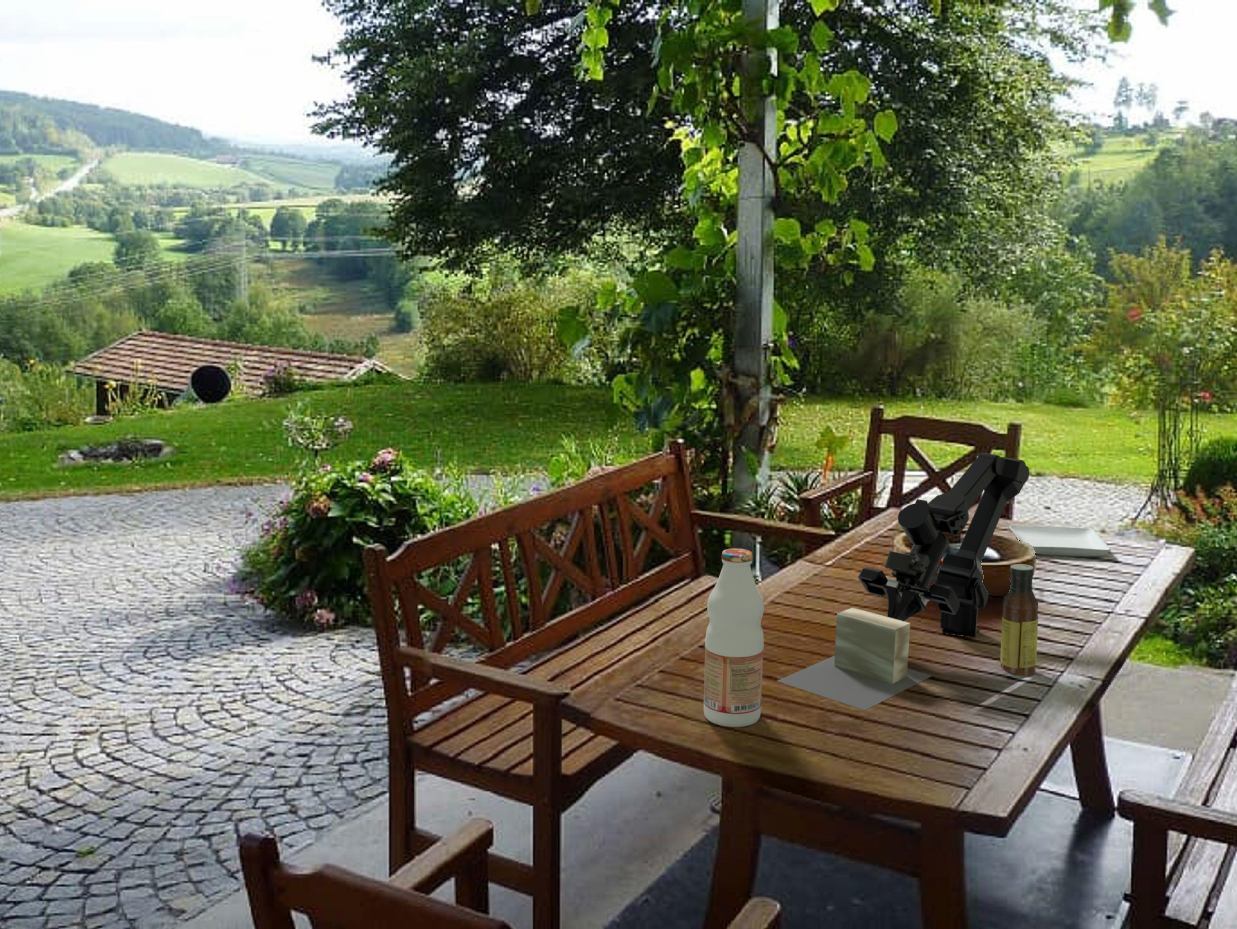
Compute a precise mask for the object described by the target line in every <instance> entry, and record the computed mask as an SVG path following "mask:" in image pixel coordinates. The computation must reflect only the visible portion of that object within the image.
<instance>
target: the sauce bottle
mask: <svg viewBox="0 0 1237 929" xmlns="http://www.w3.org/2000/svg"><path fill="white" fill-rule="evenodd" d="M1009 574H1010V582H1011V585H1010V590H1009V592H1008V593H1007V595H1006V596H1005V597H1003V600H1002V615H1001V633H1000V634H1001V635H1000V659H999V660H1000V668H1001V669H1002V670H1003V671H1004V672H1007V673H1010V674H1013V675H1014V674H1015V675H1020V676H1023V675H1024V676H1025V675H1026V676H1028V677H1029V676H1032V675H1034V674H1035V672H1036V665H1037V657H1038V655H1037V654H1038V652H1037V651H1038V634H1039V632H1038V631H1039V628H1038V627H1039V614H1038V613H1039V612H1038V611H1039V610H1038V609H1039V602H1038V600H1037V598H1036V595H1035V594H1034V592H1033V590H1034V589H1033V578H1034V577H1033V576H1034V574H1035V568H1034V567H1033V566H1032V565H1030V564H1025V563H1024V564H1023V563H1017V564H1016V563H1015V564H1014V563H1013V564H1012V565H1010V568H1009Z"/></svg>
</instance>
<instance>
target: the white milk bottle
mask: <svg viewBox="0 0 1237 929" xmlns="http://www.w3.org/2000/svg"><path fill="white" fill-rule="evenodd" d="M753 555H754V554H753V552H752V551H750V550H748V549H745V548H728V549H724V550H723V551H722V553H721V562H722V568H721V571H720V574H719V575H718V576H719V577H718V579H717V581H716V584H715V585H714V587H713V589H712V590H711V591H710V594H709V595H708V598H707V603H706V604H707V605H706V607H707V613H708V617H709V623H708V625H707V627H706V632H705V640H704V641H705V642H704V643H705V644H704V677H703V680H704V681H703V682H704V683H703V714H704V717H705V719H706V720H708V721H709V722H711V723H713V724H715V725H718V726H723V727H728V728H742V727H747V726H751V725H753V724H755V723H757V722H758V721H759V719H760V717H761V713H762V697H763V696H762V694H763V693H762V692H763V668H764V667H763V666H764V662H763V660H764V647H765V646H764V642H765V641H764V632H763V628H762V626H761V625H762V624H761V622H762V618H763V615H764V610H765V603H764V599H763V595H762V594H761V592H760V591H759V589H758V587H757V585H756V581H755V579H754V575H753V572H752V569H751V564H752V563H753V559H754V558H753V557H754V556H753Z"/></svg>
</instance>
